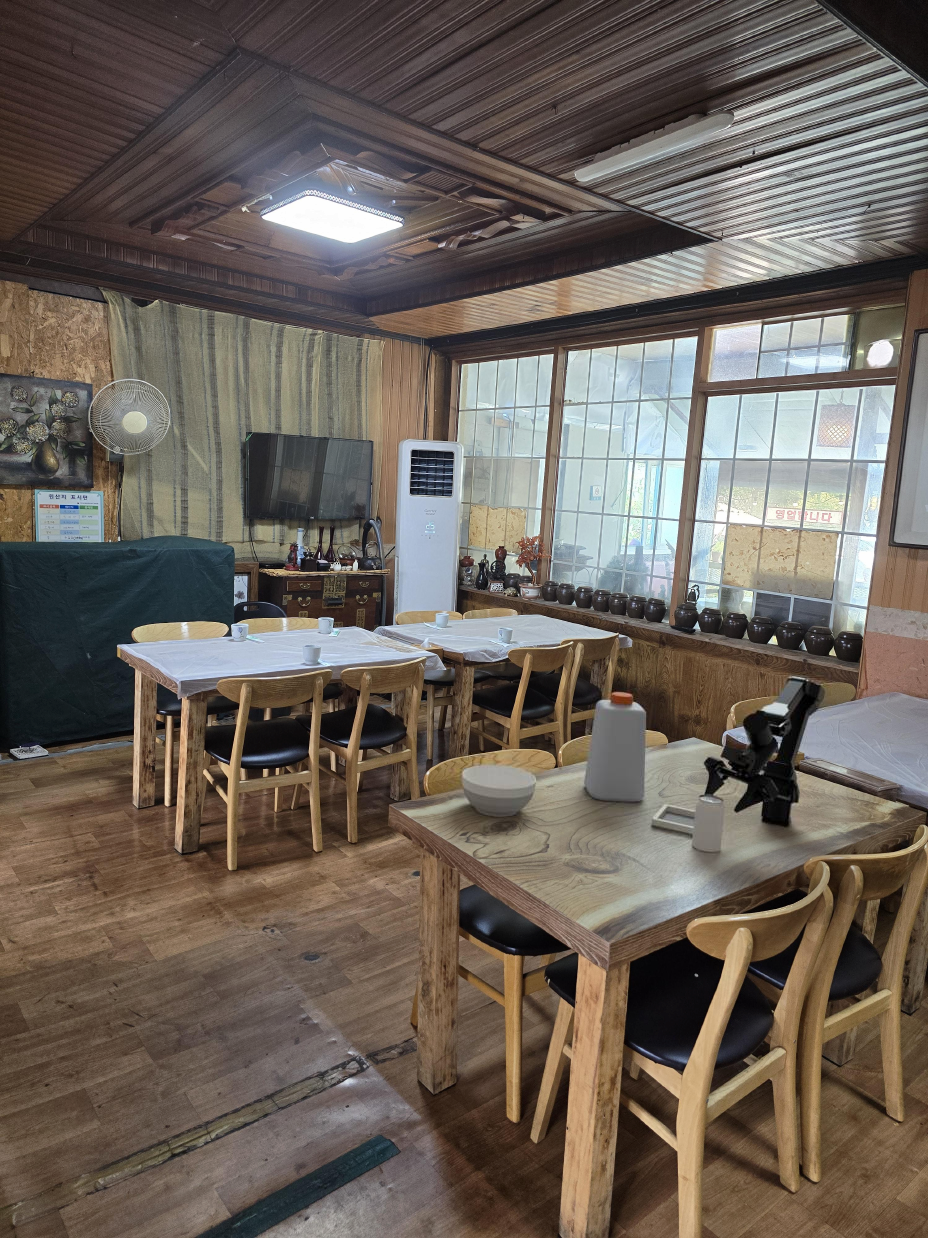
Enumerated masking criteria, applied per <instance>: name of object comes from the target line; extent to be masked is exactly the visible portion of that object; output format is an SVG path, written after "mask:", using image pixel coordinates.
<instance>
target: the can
mask: <svg viewBox="0 0 928 1238" xmlns="http://www.w3.org/2000/svg"><path fill="white" fill-rule="evenodd" d="M704 794H705V793H704ZM704 794H700V795H698V799H697V801H696V802H695V803H696V804H695V809H694V810H695V818H694V828H693V836H692V838H691V839H692V840H691V845H692V847H693V848H694V849H695V850H697V851H700V852H703V853H709V854H712V853H717V852H719V851H720V850H721V847H722V837H723V831H724V829H723V827H724V820H725V819H724V818H725V811H726V810H725V808H726V807H725V803H724V799H723V798H722V797H720V796H717V795H715V794H713V795H706V794H705V795H704Z"/></svg>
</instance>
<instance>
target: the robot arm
mask: <svg viewBox="0 0 928 1238" xmlns="http://www.w3.org/2000/svg"><path fill="white" fill-rule="evenodd" d="M825 691H826V690H825V688H823V686H822V685H821V684H820V683H816V682H813V681H811V680H810V679H808V678H804V677H799V676H789V677H788V678H787V680H786V684H785V686H784V687H783V689H782V690H781V691H780V693H779V694H778V696H777V698H775V700H774V702H773V703H772V704H768V705H765V706H763V708H762V709H756V711H755V712H753V713H750V714H748V715H747V716H746V717H744V718H743V721H742V726H743V729H744V732H745V734H746V738H747V741H748V742H749V744H748V745H747V746H746V748H742V747H741V748H740V749H739V748H736V747H733V746H731V745H727V744H724V747H723V750H722V751H721V754H720V758H722V759H725V760H727V761H728V762H727V764H728V765H729V766H730V767H731V768H729V767H727V765H726V764H725V762H724V760H722V759H720V758H717V757H715V756H708V757H707V758H706V759H705V760H704V762H703V765H704V766H705V769H706V771H707V772H708V778H707V783H706V787H705V790H704V794H703V795H705V794H706V795H715V794H716V792H718V791H719V790H720V789H721V788H722V787H723V786H724V785H725V782H724V781H727V780H728V779H730V778H731V779H733V780H735V781H738V782H741V783H743V784H746V785H747V787H746V790H745V792H744V793H743V795H742V797H741V798H740V799H739V800H738V802H737V803H736V805H735V807H733V808H734V809H733V811H734V812H735V813H736V814H737V813H739V812H741V811H744V810H745V809H748V808H750V807H753V806H754V805H757V804H759V803H762V806H761V811H760V812H761V813H760V816H761V818H762V819H761V821H762V822H765V823H768V824H769V823H770V824H774V825H779V826H783V827H789V826H790V823H791V821H792V817H791V814H792V807H793V806H792V805H793V804H799V801H800V794H801V792H800V791H801V790H800V788H799V784H798V782H797V779H798V776H797V772H796V770H795V763H796V760H797V757H798V754H799V750H800V747H801V743H802V740H803V737H804V734H805V730H806V728H807V726H808V725H807V724H808V720H809V718H810V716H812V715H813V714H814V713H816V712H817V711H818V710H819V708H820V705H821V703H823V701H824V699H825V695H826V692H825ZM774 736H775V737H774ZM776 737H778V738H781V741H780V745H779V742H778V740H777V739H776ZM774 754H776V758H774V759H773V760H770V759H771V758H772V757H773V755H774ZM762 771H763V772H762ZM761 772H762V773H761ZM760 773H761V774H760Z"/></svg>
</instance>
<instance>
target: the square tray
mask: <svg viewBox="0 0 928 1238" xmlns="http://www.w3.org/2000/svg"><path fill="white" fill-rule="evenodd" d="M694 818H695V809H690V808H684V807H680V806H677V805H676V806H675V805H671V804H667V803H664V804H663V806H661V808H660V809H659V810H658V811H657V812H656V813H655V815H654V816H653V817H652V818H651V822H650V827H652V828H656V829H660V830H661V829H662V830H664V831H665V830H666V831H669V832H674V833H679V834H681V835H682V834H683V835H687V836H691V837H693V828H694Z"/></svg>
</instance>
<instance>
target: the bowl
mask: <svg viewBox="0 0 928 1238" xmlns="http://www.w3.org/2000/svg"><path fill="white" fill-rule="evenodd" d="M461 784H462V790H463V793H464V797H466V799H467V802H469V804H470V805H472V806H473V807H474V808H475V810H476V811H477V812H479V813H480V814H482V815H485V816H489V817H497V818H505V817H511V816H514V815H516V814H518V812H519V811H521V810H523V809H524V808H525V807H527V805H528V804H529V803H530V802H531V800H532V799H533V795H534V793H535V790H536V784H537V778H536V776H535V775H534V774H533V773H531V772H530V771H528V770H525V769H522V768H520V767H519V768H518V767H514V766H511V765H510V766H508V765H501V764H480V765H473V766H470V767H467V768H465V769H464V770H463V771H462V773H461Z"/></svg>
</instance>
